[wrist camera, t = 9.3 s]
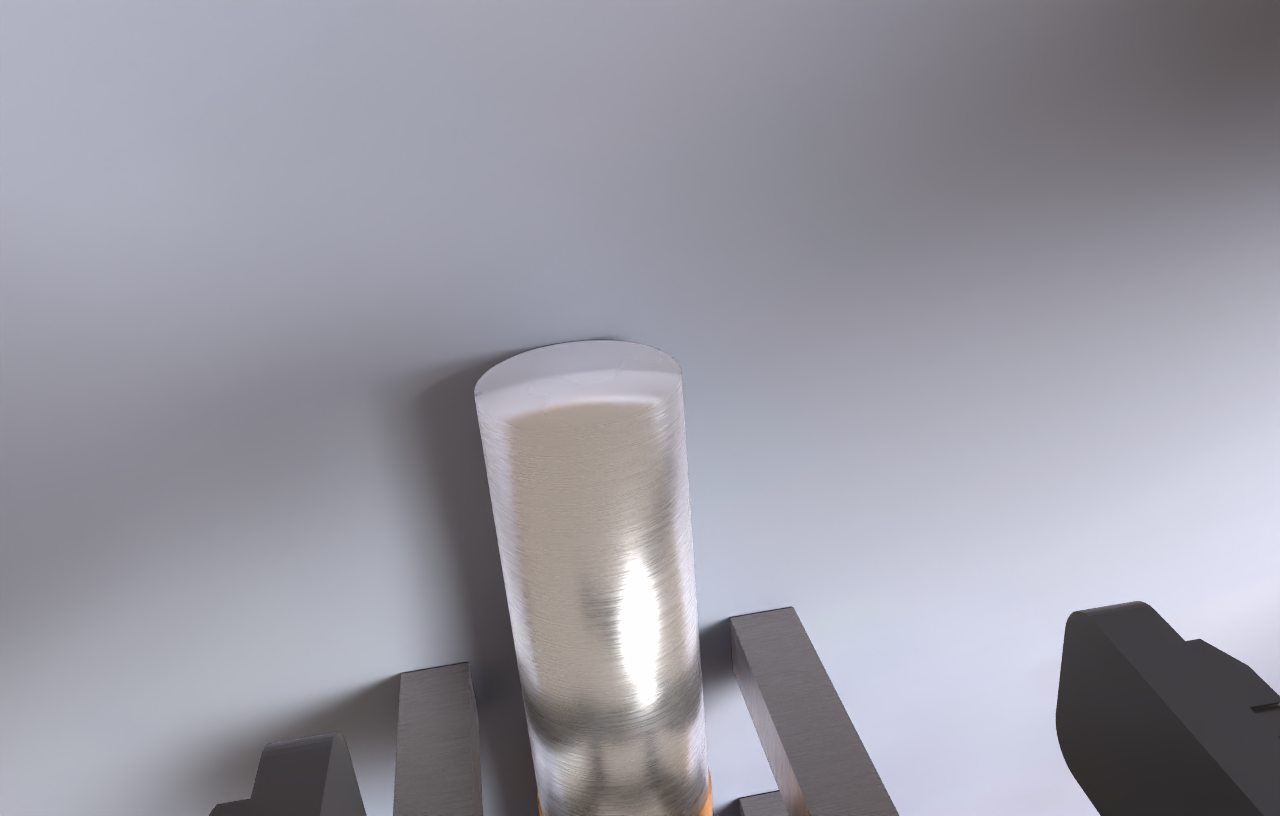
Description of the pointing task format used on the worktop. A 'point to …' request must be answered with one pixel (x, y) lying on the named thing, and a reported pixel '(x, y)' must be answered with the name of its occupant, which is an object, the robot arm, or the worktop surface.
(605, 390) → the silver cosmetic tube
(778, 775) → the frame
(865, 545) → the worktop surface
